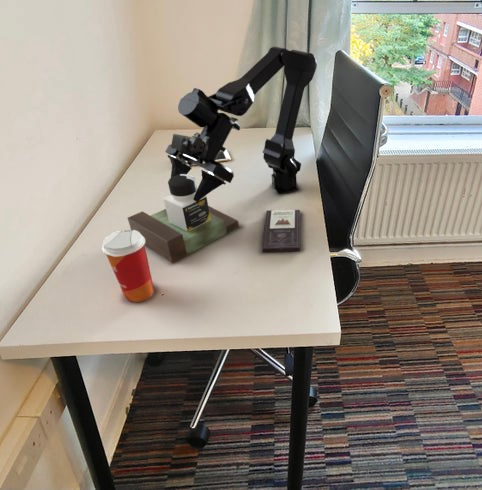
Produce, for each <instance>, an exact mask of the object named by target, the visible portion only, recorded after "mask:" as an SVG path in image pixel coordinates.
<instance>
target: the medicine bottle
mask: <svg viewBox="0 0 482 490" xmlns="http://www.w3.org/2000/svg"><path fill="white" fill-rule="evenodd" d="M167 185H168V189H169V193H170V194H169V195H167V196H165V197H163V202H164V206H165V209H166V211H167V215H168V219H169V223H171V224H173V225H175V226H177V227H179V228H181V229H183V230H185V231H187V232H189V231H191V230H193V229H195V228H197V227H199V226H200V225H202V224H204V223H206V222H208V221H210V213H209V207H208V206H209V202H208V198H207V197H208V196H207V195H206V196H204V197H203V198H202V199H200V200H199V201H194V200H193V199H194V196H195V193H196V191H197V189H198V187H197V182H196V178H195V176H193V175H192V174H188V173H187V174H180V175H176V176H173V177H171V176H170V178H169V179H168V180H167Z"/></svg>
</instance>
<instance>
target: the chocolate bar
mask: <svg viewBox="0 0 482 490" xmlns="http://www.w3.org/2000/svg"><path fill="white" fill-rule="evenodd" d="M261 251H262V253H273V252H275V253H276V252H277V253H278V252H300V251H301V210H300V209H274V210H272V209H271V210H266V212H265V222H264V230H263V238H262V247H261Z"/></svg>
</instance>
